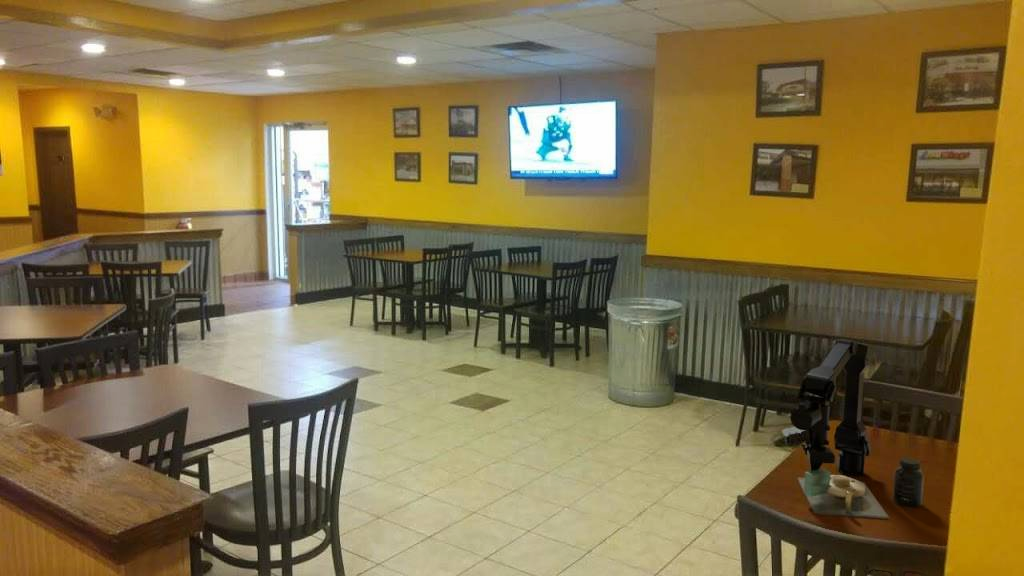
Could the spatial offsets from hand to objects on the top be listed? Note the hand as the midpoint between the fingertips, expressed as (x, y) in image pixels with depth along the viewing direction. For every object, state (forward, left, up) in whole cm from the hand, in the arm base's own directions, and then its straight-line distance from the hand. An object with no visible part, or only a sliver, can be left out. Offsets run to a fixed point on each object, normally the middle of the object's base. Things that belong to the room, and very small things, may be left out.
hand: (813, 474), depth 198 cm
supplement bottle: (-25, -2, -7) cm, 26 cm away
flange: (-5, 0, -4) cm, 7 cm away
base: (-8, -2, -7) cm, 11 cm away
